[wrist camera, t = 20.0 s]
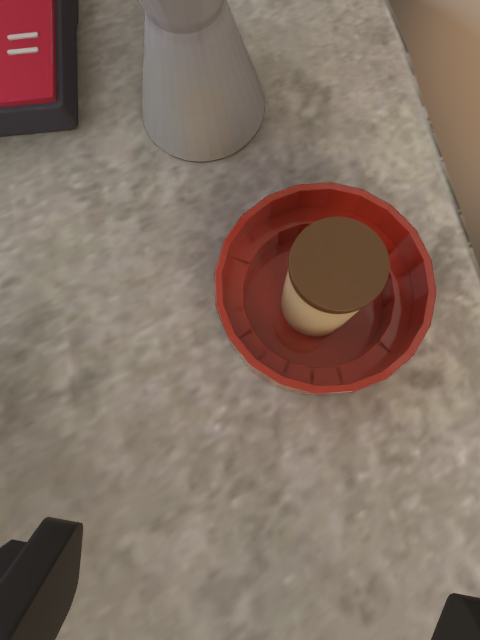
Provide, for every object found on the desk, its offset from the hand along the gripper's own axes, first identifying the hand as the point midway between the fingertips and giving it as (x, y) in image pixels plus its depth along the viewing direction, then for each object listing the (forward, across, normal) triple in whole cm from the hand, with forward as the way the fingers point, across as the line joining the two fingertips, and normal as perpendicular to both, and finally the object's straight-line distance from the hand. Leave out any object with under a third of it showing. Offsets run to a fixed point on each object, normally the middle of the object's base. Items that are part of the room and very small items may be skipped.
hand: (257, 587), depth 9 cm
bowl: (+24, -4, -2) cm, 24 cm away
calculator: (+34, +26, -17) cm, 45 cm away
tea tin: (+23, -4, -2) cm, 24 cm away
